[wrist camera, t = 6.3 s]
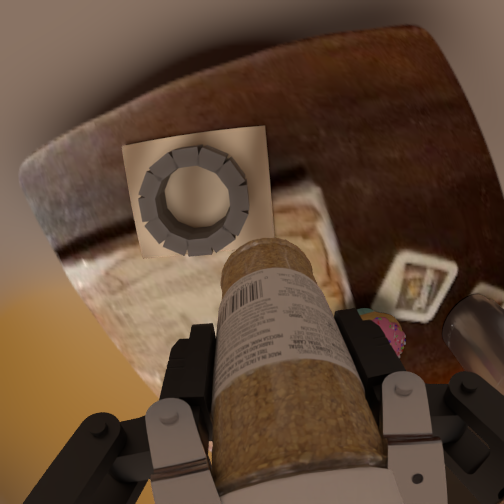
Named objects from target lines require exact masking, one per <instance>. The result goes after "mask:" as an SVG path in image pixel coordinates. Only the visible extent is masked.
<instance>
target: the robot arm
mask: <svg viewBox="0 0 504 504" xmlns="http://www.w3.org/2000/svg"><path fill="white" fill-rule="evenodd" d="M334 319H335V321H336V324H337V326H338V328H339V330H340V333H341V335H342V337H343V339H344V342H345V344H346V346H347V348H348V351H349V353H350V355H351V357H352V360H353V362H354V365H355V367H356V370H357V372H358V374H359V377H360V379H361V382H362V384H363V386H364V390H365V399H366V400H367V402H368V405H369V407H370V409H371V411H372V414H373V417H374V419H375V421H376V424H377V426H378V429H379V432H380V435H381V438H382V444H383V454H384V455H385V456H386V461H385V469H389V470H391V471H392V472H393V475H394V478H395V480H396V483H397V486H398V489H399V492H400V495H401V498H402V501H403V504H447V489H446V475H445V464H446V466H447V467H448V468H449V469H450V470H451V471H452V472H453V473H454V474H455V475H456V476H457V478H458V479H459V480H460V481H461V482H462V483H463V484H464V485H465V486H466V487H467V489H468V490H469V491H470V492H471V493H472V494H473V495H474V496H475V497H476V498H477V499H478V500H479V502H480V503H481V504H504V309H503V308H502V307H500V306H499V305H498V304H497V303H496V302H495V301H494V300H493V299H487V298H486V297H485V296H483V295H480V294H475V295H471V296H469V297H467V298H465V299H464V300H462V301H461V302H460V303H458V304H457V305H456V306H455V307H454V309H453V310H452V311H451V312H450V314H449V315H448V317H447V319H446V321H445V324H444V326H443V332H442V335H443V340H444V342H445V343H446V344H447V346H448V347H449V349H450V350H451V351H452V353H453V354H454V355H455V357H456V358H457V360H458V361H459V363H460V364H461V365H462V367H463V368H464V370H465V371H463V372H459V373H456V374H455V375H454V376H452V378H451V379H450V382H449V384H425V383H424V382H423V380H422V379H421V378H420V377H419V376H417V375H416V374H413V373H411V372H407V371H406V370H405V368H404V366H403V365H402V363H401V361H400V359H399V358H398V356H397V354H396V352H395V351H394V349H393V347H392V346H391V345H390V342H389V341H388V339H387V337H386V335H385V334H384V332H383V331H382V329H381V327H380V326H379V325H377V324H376V323H375V322H373V321H372V320H370V319H369V320H362V318H361V316H360V315H359V313H358V311H357V309H356V308H353V309H346V310H338V311H335V315H334ZM215 346H216V336H215V331H214V326H213V324H212V323H209V324H195V325H192V327H191V332H190V337H189V339H179V340H178V341H177V342H176V344H175V345H174V346H173V347H172V348H171V352H170V356H169V361H168V364H167V369H166V373H165V377H164V381H163V386H162V390H161V394H160V399H159V401H157V402H155V403H154V404H153V405H151V406H150V407H149V409H148V410H147V412H146V415H145V416H142V417H140V418H136V419H131V420H127V421H122V422H119V420H118V419H117V418H116V417H115V416H114V415H112V414H109V413H105V412H103V413H102V412H101V413H96V414H93V415H90V416H89V417H87V418H86V419H85V420H84V421H83V422H82V423H81V425H80V426H79V427H78V429H77V430H76V431H75V433H74V434H73V435H72V437H71V438H70V439H69V441H68V442H67V443H66V445H65V446H64V447H63V449H62V450H61V451H60V453H59V454H58V455H57V457H56V458H55V460H54V461H53V462H52V464H51V465H50V466H49V468H48V469H47V470H46V472H45V473H44V474H43V476H42V478H41V479H40V480H39V482H38V483H37V485H36V486H35V487H34V488H33V490H32V491H31V493H30V494H29V495H28V497H27V498H26V500H25V501H24V502H23V504H135V503H136V501H137V500H138V498H139V496H140V494H141V492H142V490H143V489H144V487H145V485H146V483H147V481H148V479H150V480H151V486H152V491H153V496H154V501H155V504H222V503H221V500H220V495H219V493H218V490H217V488H216V485H215V480H214V477H213V474H212V471H211V468H212V465H211V462H210V459H209V456H208V447H209V441H212V435H213V419H212V414H211V403H212V387H213V373H214V359H215ZM468 426H469V427H471V428H472V429H473V430H474V431H475V432H476V433H477V434H478V435H479V436H480V437H481V438H482V439H483V440H484V441H485V442H486V443H487V444H488V446H489V448H490V449H489V448H488V447H487V446H486V445H485V444H484V443H483V442H481V440H480V439H479V438H478V437H477V436H476V435H475V434H473V433H472V432H471V431H470V430H469V429H468ZM444 463H445V464H444Z"/></svg>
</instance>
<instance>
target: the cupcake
mask: <svg viewBox="0 0 504 504" xmlns="http://www.w3.org/2000/svg"><path fill="white" fill-rule="evenodd" d="M357 311H358V313H359V315H360V316H361V318H362V320H369V319H370V320H372V321H373V322H375V323H376V324H377V325H379V326H380V327H381V329H382V331H383V332H384V334H385V335H386V337H387V339H388V341H389V342H390V345H391V346H392V347H393V349H394V351H395V352H396V354H397V356H398V358H400V357H399V356H400V354H401V353H402V351H403V348H404V346H403V345H405V344H406V343H405V341H406V340H405V337H406V336H405V333H404V332H403V331H402V329H401V326H400V324H399V323H398V321H397V320H396V319H395V318H394V317H393V316H392V315H390V314H386V313H379V312H375V311H373V310H371V309H368V308H361V309H357Z"/></svg>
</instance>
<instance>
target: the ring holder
mask: <svg viewBox="0 0 504 504" xmlns="http://www.w3.org/2000/svg"><path fill="white" fill-rule="evenodd" d="M122 151H123V158H124V164H125V171H126V177H127V183H128V188H129V194H130V199H131V205H132V210H133V215H134V220H135V225H136V230H137V234H138V239H139V244H140V248H141V253H142V257H143V259H144V258H155V257H165V256H175V255H183V256H185V255H186V254H188V256H189V257H190V256H200V255H211V254H212V253H213V252H216V253H217V252H218V251H228V250H237V249H238V248H239V247H240V246H242V245H244V244H245V243H247V242H249V241H252V240H255V239H261V238H274V225H273V212H272V200H271V188H270V176H269V165H268V153H267V143H266V132H265V126H254V127H244V128H234V129H225V130H217V131H209V132H201V133H194V134H187V135H181V136H174V137H168V138H162V139H157V140H151V141H146V142H141V143H135V144H130V145H126V146H122Z"/></svg>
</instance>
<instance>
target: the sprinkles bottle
mask: <svg viewBox="0 0 504 504" xmlns="http://www.w3.org/2000/svg"><path fill="white" fill-rule="evenodd" d="M221 289H222V301H221V304H220V307H219V313H218V324H217V334H216V346H215V359H214V373H213V387H212V403H211V414H212V419H213V435H212V442H213V448H212V468H211V471H212V474H213V477H214V480H215V485H216V488H217V490H218V493H219V495H220V500H221V503H222V504H403V501H402V498H401V495H400V492H399V489H398V486H397V483H396V480H395V478H394V475H393V472H392V471H391V470H389V469H385V461H386V456H385V455H384V454H383V444H382V438H381V435H380V432H379V429H378V426H377V424H376V421H375V419H374V417H373V414H372V411H371V409H370V407H369V405H368V402H367V400H366V399H365V390H364V386H363V384H362V382H361V379H360V377H359V374H358V372H357V370H356V367H355V365H354V362H353V360H352V357H351V355H350V353H349V351H348V348H347V346H346V344H345V342H344V339H343V337H342V335H341V333H340V330H339V328H338V326H337V324H336V321H335V319H334V317H333V315H332V312H331V310H330V308H329V305H328V303H327V301H326V299H325V296H324V294H323V292H322V291H321V289H320V288H319V286H318V285H317V282H316V280H315V278H314V276H313V272H312V266H311V263H310V261H309V260H308V259H307V257H306V255H305V254H304V252H303V251H301V250H300V249H299V248H298V247H297V246H296V245H294V244H292V243H290V242H289V241H287V240H282V239H279V238H261V239H255V240H252V241H249V242H247V243H245V244H244V245H242V246H240V247H239V248H238V249H237V250H236V251H235V252H233V253H232V254H231V255H230V256H229V258H228V260H227V262H226V263H225V265H224V267H223V270H222V277H221Z"/></svg>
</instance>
